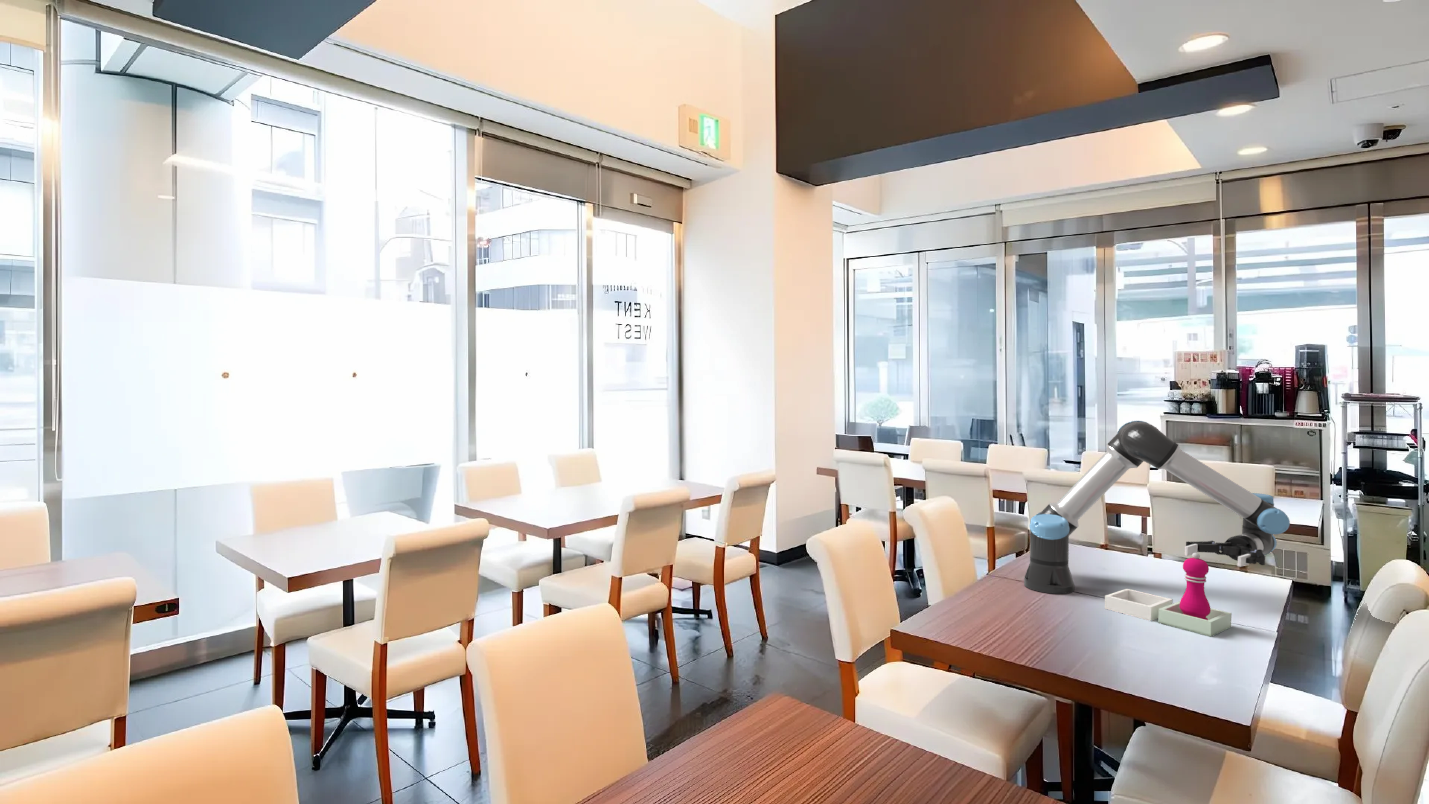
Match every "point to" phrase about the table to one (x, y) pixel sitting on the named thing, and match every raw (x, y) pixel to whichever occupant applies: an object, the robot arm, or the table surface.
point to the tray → (1195, 620)
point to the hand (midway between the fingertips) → (1211, 556)
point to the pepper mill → (1195, 588)
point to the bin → (1136, 603)
